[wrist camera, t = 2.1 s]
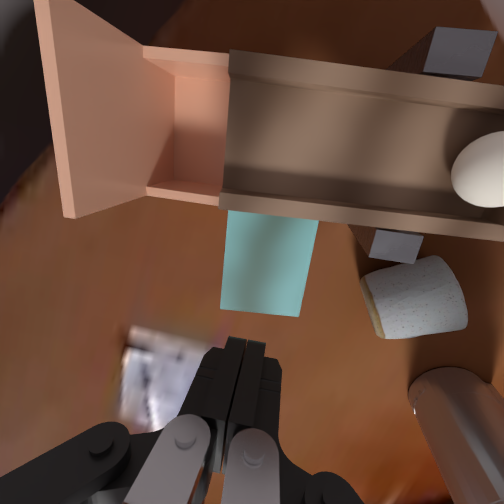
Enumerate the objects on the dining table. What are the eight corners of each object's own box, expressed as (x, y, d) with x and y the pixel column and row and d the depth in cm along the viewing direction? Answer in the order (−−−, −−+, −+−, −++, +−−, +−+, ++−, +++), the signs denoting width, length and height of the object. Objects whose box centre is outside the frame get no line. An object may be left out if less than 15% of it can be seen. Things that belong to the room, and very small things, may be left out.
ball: (507, 135, 17) (590, 135, 13) (480, 201, 18) (547, 218, 14) (449, 127, 16) (518, 124, 12) (425, 196, 18) (481, 212, 14)
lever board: (477, 113, 23) (629, 95, 14) (413, 284, 29) (489, 352, 20) (239, 82, 23) (229, 41, 13) (224, 263, 29) (209, 324, 19)
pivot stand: (407, 83, 26) (498, 31, 14) (369, 219, 30) (413, 264, 19) (373, 79, 26) (436, 26, 14) (341, 215, 31) (368, 257, 19)
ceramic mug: (351, 266, 33) (366, 300, 26) (426, 243, 31) (466, 274, 23) (374, 337, 36) (393, 385, 29) (444, 321, 34) (484, 369, 27)
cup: (285, 79, 27) (271, -1, 12) (268, 198, 31) (244, 245, 16) (170, 67, 28) (30, -19, 13) (169, 184, 32) (63, 216, 18)
